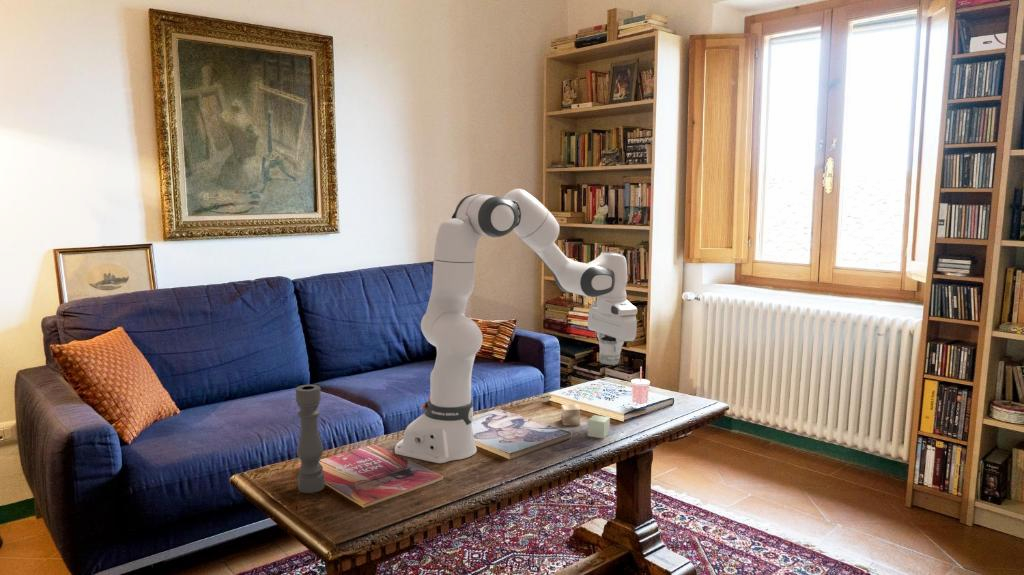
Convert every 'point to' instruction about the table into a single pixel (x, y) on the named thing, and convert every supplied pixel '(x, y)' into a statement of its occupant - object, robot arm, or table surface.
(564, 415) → the birch cube
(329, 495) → the table surface
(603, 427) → the sage cube
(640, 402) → the beverage cup
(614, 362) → the potted succulent
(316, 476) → the candle holder
